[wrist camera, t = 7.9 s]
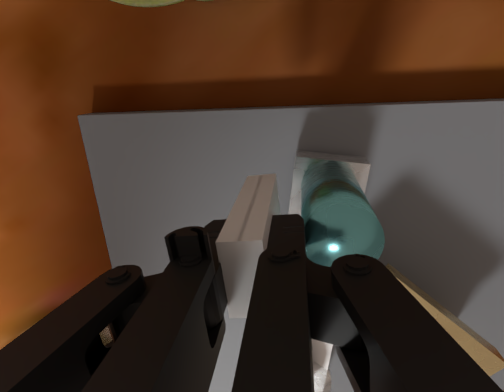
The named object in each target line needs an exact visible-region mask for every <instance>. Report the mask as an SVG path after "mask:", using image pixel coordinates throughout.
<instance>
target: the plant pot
mask: <svg viewBox="0 0 504 392" xmlns="http://www.w3.org/2000/svg"><path fill="white" fill-rule="evenodd" d="M110 1H113V2H117V3H120V4H124V5H129V6H136V7H159V6H167V5H171V4H176V3H179V2H182V1H184V0H110ZM198 1H213V0H198Z"/></svg>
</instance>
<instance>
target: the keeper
mask: <svg viewBox="0 0 504 392" xmlns="http://www.w3.org/2000/svg"><path fill="white" fill-rule="evenodd" d="M385 267H386V268H387V269H388V270H389V271H390V272H391V273H392V274H393V275H394V276H395V277H396V278H397V279H398V280H399V281H400V282H401V283H402V285H403V286H404V287H405V288H406V289H407V290H408V291H409V292H410V293H411V294H412V295H413V296H414V297H415V298H416V299H417V300H418V301H419V303H420V304H421V305H422V306H423V307H424V308H425V309H426V310H427V311H428V312H429V313H430V314H431V315H432V316H433V317H434V318H435V319H436V321H437V322H438V323H439V324H440V325H441V326H442V327H443V328H444V329H445V330H446V331H447V332H448V333H449V334H450V335H451V336H452V337H453V339H454V340H455V341H456V342H457V343H458V344H459V345H460V346H461V347H462V348H463V349H464V350H465V351H466V352H467V353H468V354H469V355H470V357H471V358H472V359H473V360H474V361H475V362H476V363H477V364H478V365H479V366H480V367H481V368H482V369H483V370H484V371H485V372H486V373H487V375H488V376H489V377H490V376H491V375H493V374H495V373H497V372H498V371H500V370H502V369H503V368H504V358H503V357H502V356H501V354H500V353H499V352H498V350H497V349H496V348H495V347H494V346H493V345H491V344H490V343H489V342H488V341H486V340H485V339H484V338H482V337H481V336H480V335H479V334H477V333H476V332H475V331H474V330H472V329H471V328H470V327H469V326H467V325H466V324H465V323H463V322H462V321H461V320H460V319H458V318H457V317H456V316H455V315H453V314H452V313H451V312H449V311H448V310H447V309H446V308H444V307H443V306H442V305H441V304H439V303H438V302H437V301H436V300H434V299H433V298H432V297H430V296H429V295H428V294H427V293H425V292H424V291H423V290H422V289H420V288H419V287H418V286H416V285H415V284H414V283H413V282H411V281H410V280H409V279H408V278H406V277H405V276H404V275H403V274H401V273H400V272H399V271H397V270H396V269H395V268H394V267H392V266H391V265H390V264H389V263H388V264H387V265H386V266H385Z"/></svg>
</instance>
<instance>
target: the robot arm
mask: <svg viewBox="0 0 504 392" xmlns="http://www.w3.org/2000/svg"><path fill="white" fill-rule="evenodd" d="M164 239H165V243H166V247H167V251H168V255H169V259H170V262H169V264H168V265H167V267H166V268H165V270H164V271H163V272H162V273H159V274H154V275H150V276H145V277H144V276H143V272H142V269H141V268H140V267H139V266H136V265H122V266H117V267H115V268H113V269H111V270H108V271H107V272H105V273H103V274H102V275H100V276H99V277H98V278H96V279H95V280H94V281H92V282H91V283H90V284H88V285H87V286H86V287H84V288H83V289H82V290H80V291H79V292H78V293H76V294H75V295H74V296H72V297H71V298H69V299H68V300H67V301H65V302H64V303H63V304H61V305H60V306H59V307H57V308H56V309H55V310H53V311H52V312H51V313H49V314H48V315H47V316H45V317H44V318H43V319H41V320H40V321H39V322H37V323H36V324H35V325H33V326H32V327H31V328H29V329H28V330H27V331H25V332H24V333H22V334H21V335H20V336H18V337H17V338H16V339H14V340H13V341H12V342H10V343H9V344H8V345H6V346H5V347H4V348H2V349H1V350H0V392H208V391H209V388H210V384H211V381H212V377H213V373H214V370H215V366H216V363H217V359H218V356H219V352H220V349H221V345H222V342H223V338H224V334H225V331H226V323H225V318H224V312H225V309H226V306H227V308H228V313H229V318H246V322H245V327H244V332H243V337H242V342H241V347H240V352H239V357H238V362H237V367H236V372H235V377H234V382H233V387H232V391H231V392H314V375H313V358H312V339H314V340H318V341H321V342H325V343H329V344H333V345H335V349H336V353H337V355H338V357H339V359H340V362H341V364H342V366H343V368H344V370H345V373H346V375H347V377H348V379H349V381H350V383H351V386H352V388H353V390H354V392H504V391H503V390H502V389H501V388H500V387H499V386H498V385H497V384H496V383H495V382H494V381H493V380H492V379H491V378H490V377H489V376H488V375H487V373H486V372H485V371H484V370H483V369H482V368H481V367H480V366H479V365H478V364H477V363H476V362H475V361H474V360H473V359H472V358H471V357H470V355H469V354H468V353H467V352H466V351H465V350H464V349H463V348H462V347H461V346H460V345H459V344H458V343H457V342H456V341H455V340H454V339H453V337H452V336H451V335H450V334H449V333H448V332H447V331H446V330H445V329H444V328H443V327H442V326H441V325H440V324H439V323H438V322H437V321H436V319H435V318H434V317H433V316H432V315H431V314H430V313H429V312H428V311H427V310H426V309H425V308H424V307H423V306H422V305H421V304H420V303H419V301H418V300H417V299H416V298H415V297H414V296H413V295H412V294H411V293H410V292H409V291H408V290H407V289H406V288H405V287H404V286H403V285H402V283H401V282H400V281H399V280H398V279H397V278H396V277H395V276H394V275H393V274H392V273H391V272H390V271H389V270H388V269H387V268H386V267H385V265H384V264H383V263H381V262H380V261H379V260H377V259H376V258H373V257H370V256H367V255H363V254H361V255H360V254H350V255H345V256H341V257H339V258H337V259H336V260H334V261H333V263H332V265H331V267H329V266H323V265H319V264H317V263H314V262H312V261H311V260H309V259H308V257H307V255H306V242H305V229H304V219H303V218H302V217H301V216H300V215H299V214H285V215H280V206H279V196H278V187H277V177H276V174H265V175H253V176H247V178H246V180H245V182H244V184H243V187H242V189H241V191H240V193H239V195H238V197H237V199H236V201H235V203H234V205H233V207H232V209H231V211H230V213H229V215H228V218H227V219H220V220H213V221H211V222H210V223H208V224H207V225H206V226H205V227H204V228H203V227H200V226H190V227H183V228H180V229H177V230H174V231H172V232H170V233H169V234H167V235H166V236H165V237H164ZM107 326H108V328H109V331H110V334H111V337H112V339H113V340H112V341H111V342H110V343H109V344H107V345H106V346H104V345H103V343H102V340H101V337H100V335H99V333H100V332H101V331H102V330H103V329H104V328H105V327H107Z"/></svg>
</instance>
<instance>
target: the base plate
mask: <svg viewBox="0 0 504 392" xmlns="http://www.w3.org/2000/svg"><path fill="white" fill-rule="evenodd" d="M78 120H79V125H80V129H81V134H82V138H83V142H84V147H85V151H86V156H87V160H88V164H89V169H90V173H91V178H92V182H93V186H94V191H95V195H96V200H97V204H98V208H99V213H100V217H101V222H102V226H103V230H104V235H105V239H106V244H107V248H108V252H109V257H110V261H111V265H112V269H113V268H115V267H117V266H122V265H136V266H139V267H140V268H141V269H142V272H143V276H144V277H145V276H150V275H154V274H159V273H162V272H163V271H164V270H165V268H166V267H167V265H168V264H169V262H170V259H169V255H168V251H167V247H166V243H165V239H164V237H165V236H166V235H167V234H169V233H170V232H172V231H174V230H177V229H180V228H183V227H190V226H200V227H203V228H204V227H205V226H206V225H207V224H208V223H210V222H211V221H213V220H220V219H227V218H228V215H229V213H230V211H231V209H232V207H233V205H234V203H235V201H236V199H237V197H238V195H239V193H240V191H241V189H242V187H243V184H244V182H245V180H246V178H247V176H253V175H265V174H276V177H277V187H278V196H279V206H280V215H285V214H288V211H289V203H290V195H291V187H292V178H293V170H294V162H295V154H296V150H297V151H307V152H317V153H327V154H337V155H347V156H357V157H365V158H366V159H367V160H368V161H369V163H370V164H371V166H370V171H369V175H368V180H367V185H366V190H365V196H366V198H367V200H368V202H369V203H370V205H371V207H372V209H373V211H374V213H375V215H376V216H377V218H378V220H379V222H380V224H381V226H382V228H383V231H384V236H385V244H384V248H383V251H382V254H381V256H380V257H379V259H378V260H379V261H380V262H381V263H383V264H384V265H385V266H386V265H387V264H388V263H389V264H390V265H391V266H392V267H394V268H395V269H396V270H397V271H399V272H400V273H401V274H403V275H404V276H405V277H406V278H408V279H409V280H410V281H411V282H413V283H414V284H415V285H416V286H418V287H419V288H420V289H422V290H423V291H424V292H425V293H427V294H428V295H429V296H430V297H432V298H433V299H434V300H436V301H437V302H438V303H439V304H441V305H442V306H443V307H444V308H446V309H447V310H448V311H449V312H451V313H452V314H453V315H455V316H456V317H457V318H458V319H460V320H461V321H462V322H463V323H465V324H466V325H467V326H469V327H470V328H471V329H472V330H474V331H475V332H476V333H477V334H479V335H480V336H481V337H482V338H484V339H485V340H486V341H488V342H489V343H490V344H491V345H493V346H494V347H495V348H496V349H497V350H498V352H499V353H500V354H501V356H502V357H503V358H504V98H501V99H473V100H445V101H417V102H389V103H361V104H333V105H304V106H276V107H248V108H220V109H192V110H164V111H136V112H107V113H89V114H83V115H78ZM224 318H225V323H226V331H225V334H224V338H223V342H222V345H221V349H220V352H219V356H218V359H217V363H216V366H215V370H214V373H213V377H212V381H211V384H210V388H209V391H208V392H231V391H232V387H233V382H234V377H235V372H236V367H237V362H238V357H239V352H240V347H241V342H242V337H243V332H244V327H245V322H246V318H229V313H228V308H227V306H226V309H225V312H224ZM329 364H330V374H331V390H330V392H354V390H353V388H352V386H351V383H350V381H349V379H348V377H347V375H346V373H345V370H344V368H343V366H342V364H341V362H340V359H339V357H338V355H337V353H336V349H335V345H333V346H332V351H331V356H330V361H329ZM490 378H491V379H492V380H493V381H494V382H495V383H496V384H497V385H498V386H499V387H500V388H501V389H502V390H504V368H503V369H502V370H500V371H498V372H497V373H495V374H493V375H491V376H490Z"/></svg>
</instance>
